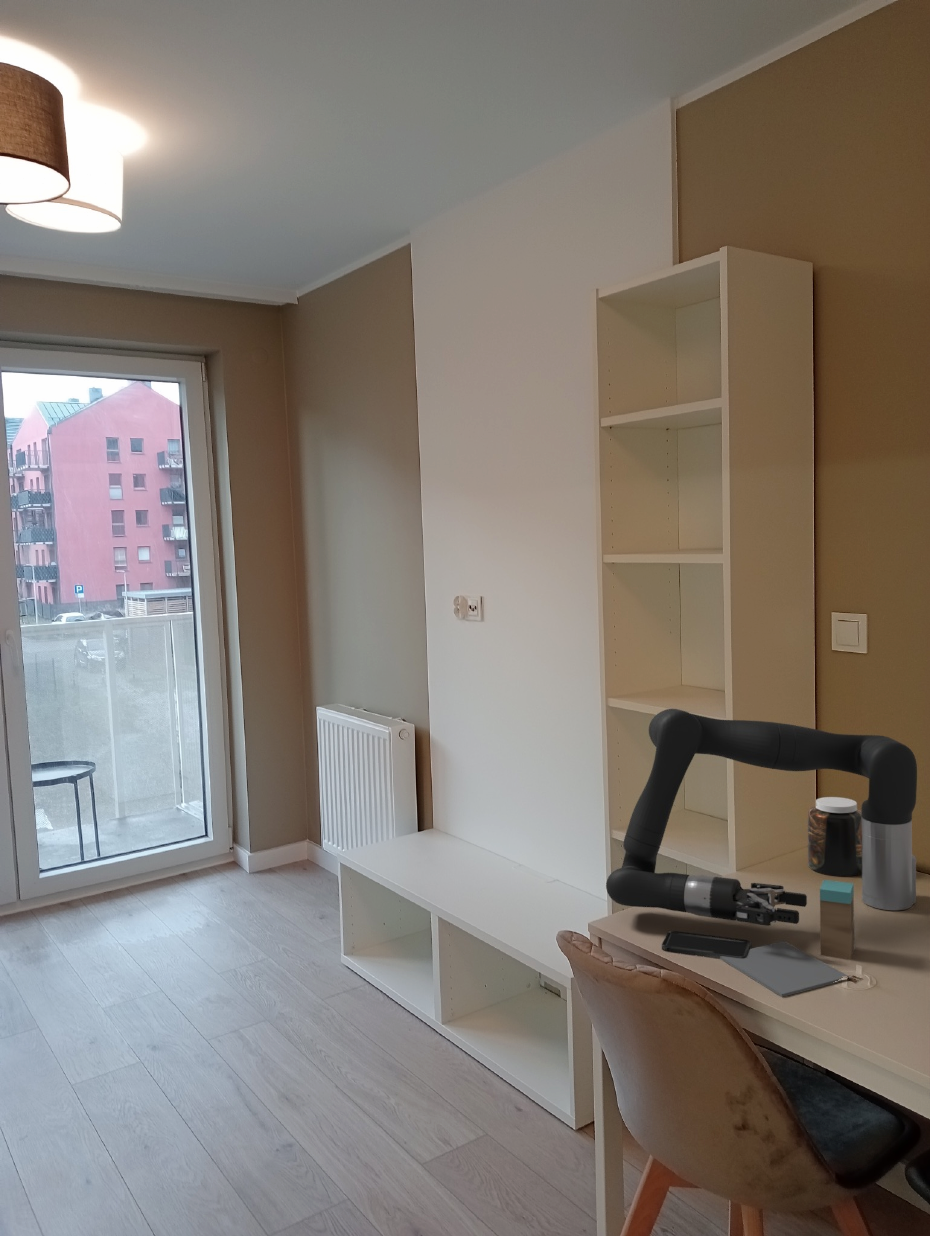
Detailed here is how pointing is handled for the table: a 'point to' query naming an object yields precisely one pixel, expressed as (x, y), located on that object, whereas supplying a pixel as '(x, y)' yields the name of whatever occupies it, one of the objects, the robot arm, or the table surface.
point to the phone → (705, 945)
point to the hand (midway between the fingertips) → (802, 908)
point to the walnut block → (837, 919)
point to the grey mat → (784, 969)
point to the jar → (835, 837)
